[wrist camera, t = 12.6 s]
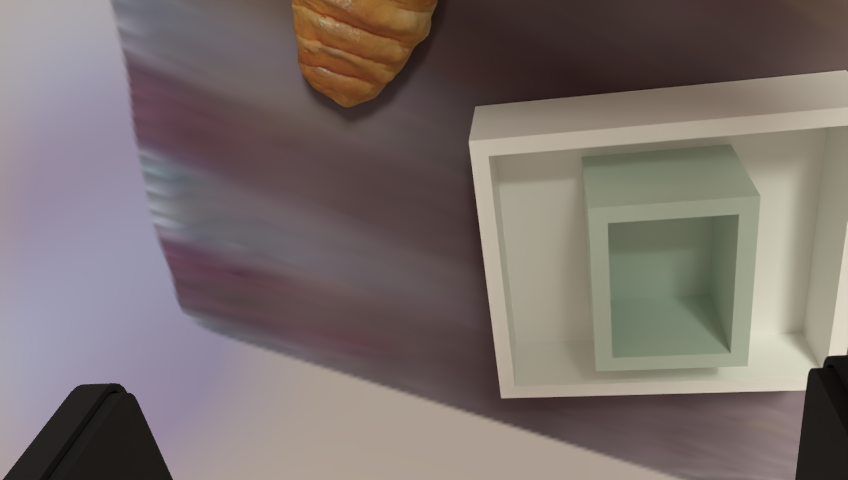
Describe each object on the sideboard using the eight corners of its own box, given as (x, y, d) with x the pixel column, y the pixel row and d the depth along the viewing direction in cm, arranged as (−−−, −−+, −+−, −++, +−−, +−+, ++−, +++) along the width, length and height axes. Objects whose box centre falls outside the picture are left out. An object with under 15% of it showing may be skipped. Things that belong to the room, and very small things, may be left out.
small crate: (581, 157, 37) (588, 208, 32) (730, 144, 36) (760, 195, 31) (588, 306, 41) (596, 371, 37) (722, 300, 40) (747, 366, 35)
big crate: (475, 106, 37) (468, 141, 34) (845, 70, 34) (885, 103, 30) (504, 346, 45) (501, 398, 41) (812, 334, 41) (841, 389, 38)
